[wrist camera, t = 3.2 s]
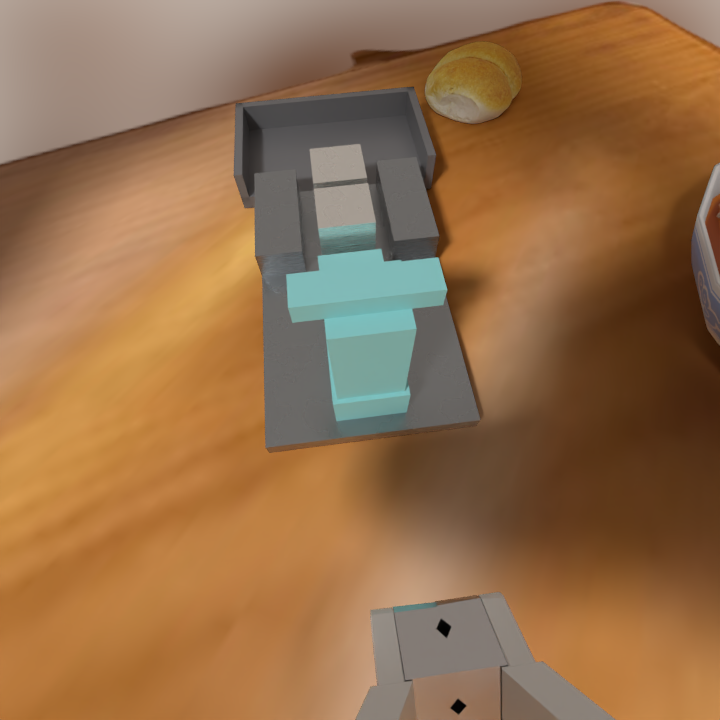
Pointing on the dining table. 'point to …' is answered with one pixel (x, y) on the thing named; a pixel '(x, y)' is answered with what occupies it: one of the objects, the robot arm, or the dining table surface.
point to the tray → (328, 134)
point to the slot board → (308, 339)
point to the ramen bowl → (708, 254)
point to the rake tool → (367, 324)
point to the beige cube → (345, 219)
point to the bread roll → (474, 83)
